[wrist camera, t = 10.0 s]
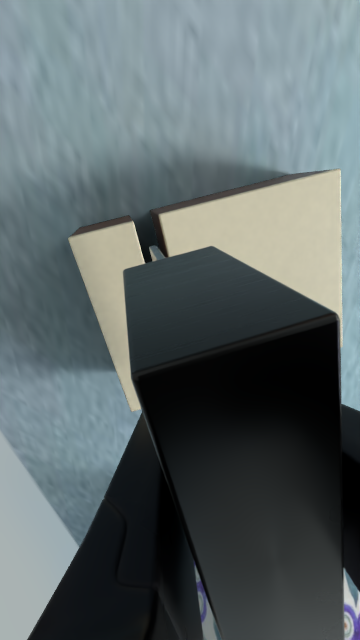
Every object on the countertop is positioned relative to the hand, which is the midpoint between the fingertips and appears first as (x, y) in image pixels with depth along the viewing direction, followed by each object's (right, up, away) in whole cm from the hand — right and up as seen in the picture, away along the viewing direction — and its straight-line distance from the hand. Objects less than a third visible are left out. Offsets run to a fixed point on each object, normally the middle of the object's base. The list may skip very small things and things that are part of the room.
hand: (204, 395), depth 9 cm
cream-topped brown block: (-4, +3, +11) cm, 12 cm away
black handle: (-1, +2, +5) cm, 6 cm away
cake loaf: (+3, +5, +12) cm, 13 cm away
